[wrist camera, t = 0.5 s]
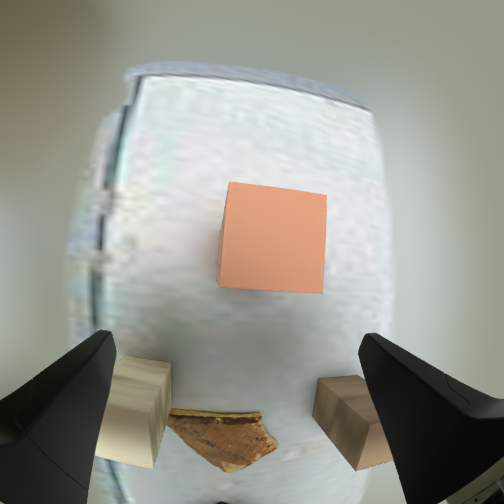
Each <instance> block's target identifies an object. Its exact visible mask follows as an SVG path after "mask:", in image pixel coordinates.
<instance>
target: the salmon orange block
mask: <svg viewBox="0 0 504 504" xmlns="http://www.w3.org/2000/svg"><path fill="white" fill-rule="evenodd" d="M326 212H327V195H323V194H317V193H311V192H304V191H298V190H291V189H284V188H277V187H269V186H261V185H253V184H244V183H235V182H229V185H228V191H227V197H226V202H225V208H224V214H223V220H222V226H221V235H220V245H219V257H218V268H217V283H218V285H219V287H226V288H238V289H252V290H266V291H281V292H299V293H318V294H322V290H323V277H324V261H325V241H326Z"/></svg>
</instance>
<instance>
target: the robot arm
mask: <svg viewBox="0 0 504 504" xmlns="http://www.w3.org/2000/svg"><path fill="white" fill-rule="evenodd" d="M358 356H359V359H360V363H361V367H362V370H363V374H364V377H365V381H366V385H367V388H368V391H369V394H370V396H371V399H372V401H373V404H374V407H375V409H376V412H377V415H378V417H379V420H380V423H381V425H382V428H383V431H384V434H385V437H386V440H387V442H388V445H389V448H390V451H391V454H392V457H393V460H394V463H395V466H396V469H397V472H398V475H399V479H400V482H401V485H402V489H403V492H404V496H405V499H406V502H407V504H438V503H440V502H442V501H443V500H445V499H446V501H447V503H448V504H504V399H497V398H493V397H491V396H489V395H487V394H485V393H482V392H480V391H478V390H476V389H474V388H472V387H470V386H468V385H466V384H464V383H461V382H460V381H458V380H456V379H454V378H452V377H451V376H449V375H447V374H445V373H444V372H442V371H440V370H439V369H437V368H435V367H433V366H432V365H430V364H428V363H427V362H425V361H423V360H421V359H420V358H417V357H416V356H414V355H413V354H411V353H410V352H408V351H406V350H404V349H403V348H401V347H399V346H398V345H396V344H394V343H392V342H391V341H389V340H387V339H386V338H384V337H382V336H381V335H379V334H377V333H367V334H365V335H364V338H363V340H362V343H361V345H360V347H359V351H358ZM115 359H116V346H115V342H114V339H113V335H112V332H111V331H108V330H99V331H97V332H96V333H94V334H93V335H91V336H90V337H89V338H87V339H86V340H84V341H83V342H82V343H80V344H79V345H77V346H76V347H75V348H73V349H72V350H70V351H69V352H68V353H66V354H65V355H64V356H62V357H61V358H60V359H58V360H57V361H55V362H54V363H53V364H51V365H50V366H48V367H47V368H46V369H44V370H43V371H42V372H40V373H39V374H38V375H36V376H35V377H33V380H32V379H31V380H30V381H28V382H27V383H25V384H24V385H23V386H21V387H20V388H18V389H17V390H16V391H14V392H12V393H11V394H9V395H8V396H6V397H5V398H3V399H1V400H0V504H87V498H88V489H89V483H90V477H91V471H92V466H93V460H94V455H95V450H96V446H97V441H98V437H99V432H100V428H101V424H102V420H103V416H104V412H105V408H106V404H107V400H108V397H109V393H110V388H111V382H112V376H113V370H114V364H115ZM218 504H226V503H223V502H220V503H218Z"/></svg>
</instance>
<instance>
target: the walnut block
mask: <svg viewBox="0 0 504 504" xmlns="http://www.w3.org/2000/svg"><path fill="white" fill-rule="evenodd" d="M312 417H313V418H314V419H315V421H316V422H317V423H318V425H319V426H320V427H321V428H322V430H323V431H324V432H325V434H326V435H327V436H328V437H329V439H330V440H331V441H332V443H333V444H334V445H335V446H336V448H337V449H338V450H339V451H340V453H341V454H342V455H343V456H344V458H345V459H346V460H347V461H348V463H349V464H350V465H351V466H352V467H353V469H354V470H355V471H358V470H362V469H366V468H369V467H373V466H376V465H380V464H383V463H386V462H389V461H392V460H393V457H392V454H391V451H390V448H389V445H388V442H387V440H386V437H385V434H384V431H383V428H382V425H381V423H380V420H379V417H378V415H377V412H376V409H375V407H374V404H373V401H372V399H371V396H370V394H369V391H368V388H367V385H366V381H365V380H364V379H363V378H361V377H360V376H358V375H352V376H342V377H329V378H318V385H317V391H316V397H315V403H314V409H313V414H312Z"/></svg>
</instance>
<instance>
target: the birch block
mask: <svg viewBox="0 0 504 504" xmlns="http://www.w3.org/2000/svg"><path fill="white" fill-rule="evenodd" d="M171 405H172V363H170V362H162V361H155V360H148V359H141V358H135V357H129V356H125V357H124V358H123V359H122V360H120V361H119V362H118V363H117V364H116V365H115V366H114V370H113V376H112V382H111V388H110V393H109V397H108V400H107V404H106V408H105V412H104V416H103V420H102V424H101V428H100V432H99V437H98V441H97V446H96V450H95V455H96V456H99V457H103V458H106V459H110V460H114V461H118V462H122V463H126V464H131V465H135V466H140V467H146V468H151V469H154V465H155V461H156V458H157V454H158V450H159V447H160V443H161V440H162V436H163V433H164V429H165V426H166V422H167V419H168V416H169V412H170V409H171Z"/></svg>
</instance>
